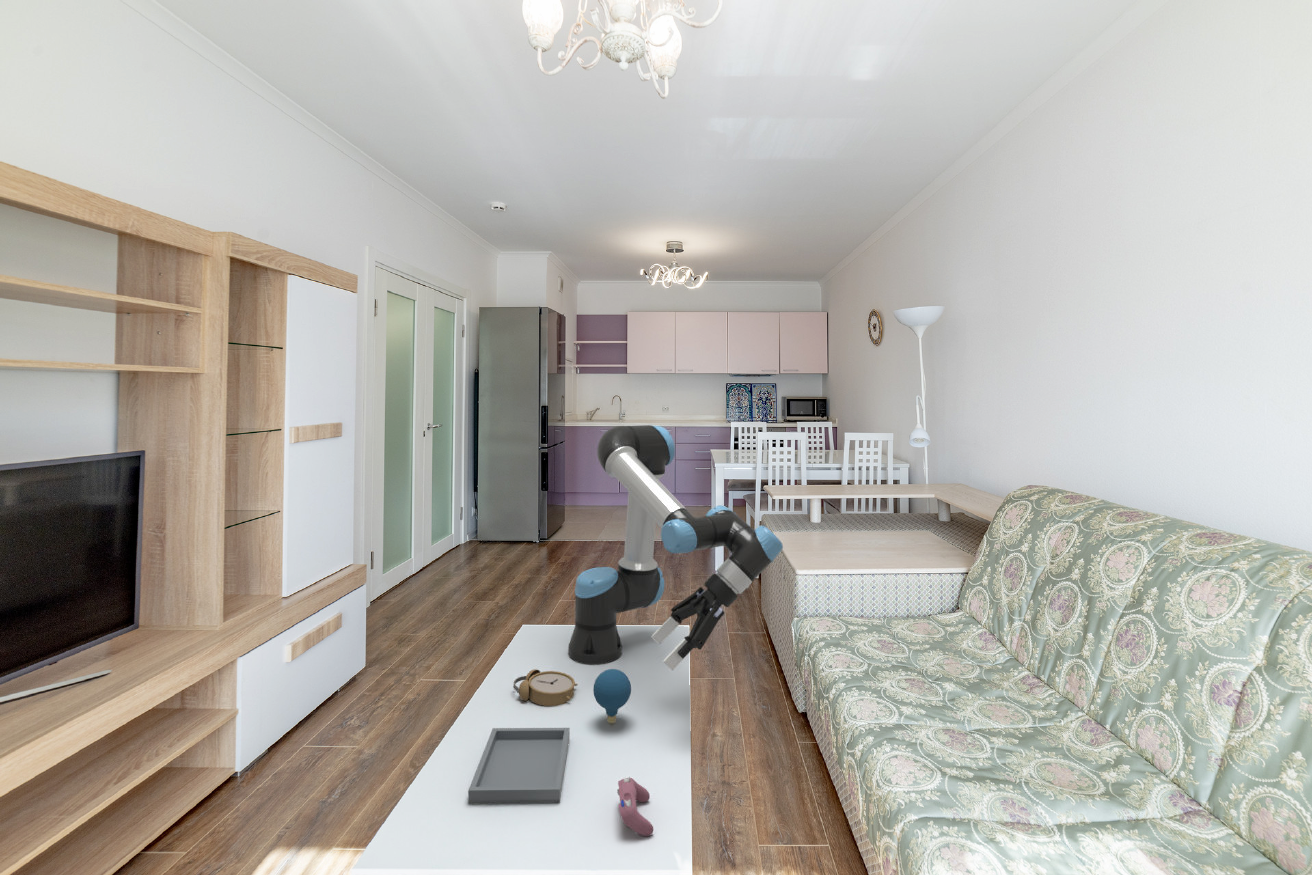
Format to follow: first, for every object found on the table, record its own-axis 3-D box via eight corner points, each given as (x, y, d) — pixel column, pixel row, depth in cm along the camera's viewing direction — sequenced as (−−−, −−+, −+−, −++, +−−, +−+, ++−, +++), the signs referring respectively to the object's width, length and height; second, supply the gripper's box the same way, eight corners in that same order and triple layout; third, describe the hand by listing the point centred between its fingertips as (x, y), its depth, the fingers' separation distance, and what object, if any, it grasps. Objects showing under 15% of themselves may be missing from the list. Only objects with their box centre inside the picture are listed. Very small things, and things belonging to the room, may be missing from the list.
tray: (492, 739, 126) (492, 728, 125) (569, 738, 126) (569, 727, 126) (468, 803, 106) (468, 790, 105) (559, 802, 107) (559, 789, 106)
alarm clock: (569, 697, 139) (508, 681, 140) (565, 717, 139) (504, 700, 141) (580, 675, 150) (523, 660, 151) (577, 693, 150) (520, 678, 152)
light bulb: (625, 735, 128) (626, 681, 127) (587, 730, 130) (588, 676, 129) (634, 715, 136) (635, 664, 136) (599, 711, 138) (600, 660, 137)
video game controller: (628, 807, 108) (611, 774, 107) (651, 795, 108) (634, 763, 108) (631, 848, 98) (612, 812, 98) (656, 835, 99) (637, 799, 98)
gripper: (757, 613, 125) (686, 689, 122) (721, 578, 149) (661, 641, 147) (734, 589, 123) (661, 665, 121) (701, 558, 148) (640, 621, 146)
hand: (661, 652), depth 134 cm, fingers open, 13 cm apart
